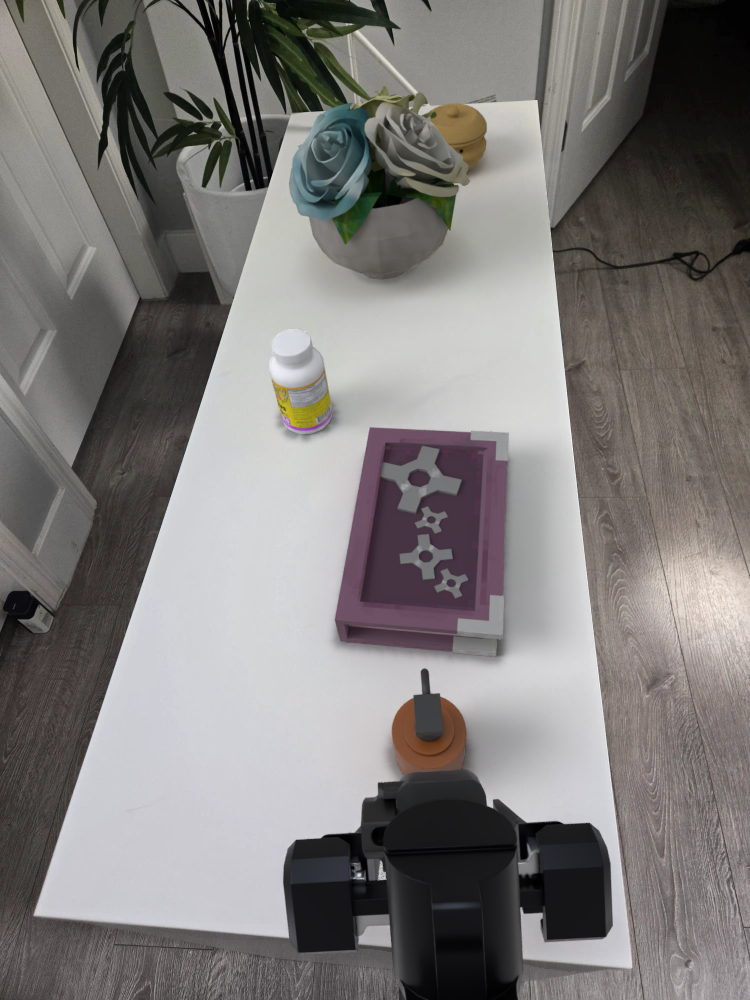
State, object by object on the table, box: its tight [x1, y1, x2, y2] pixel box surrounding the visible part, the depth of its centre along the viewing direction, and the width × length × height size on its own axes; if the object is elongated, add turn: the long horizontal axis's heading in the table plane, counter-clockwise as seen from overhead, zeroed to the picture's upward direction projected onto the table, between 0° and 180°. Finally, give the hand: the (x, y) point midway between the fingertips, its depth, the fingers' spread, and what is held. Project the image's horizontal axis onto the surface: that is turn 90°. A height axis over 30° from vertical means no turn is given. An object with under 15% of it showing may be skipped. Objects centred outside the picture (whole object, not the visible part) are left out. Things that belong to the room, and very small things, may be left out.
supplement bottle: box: [268, 328, 334, 435], centre depth 87 cm, size 7×7×13 cm
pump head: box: [412, 667, 444, 737], centre depth 59 cm, size 6×2×2 cm, turn 2°
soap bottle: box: [391, 696, 467, 776], centre depth 63 cm, size 6×6×7 cm
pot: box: [428, 103, 488, 171], centre depth 121 cm, size 12×12×10 cm
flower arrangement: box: [288, 85, 471, 280], centre depth 100 cm, size 25×25×24 cm
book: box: [334, 426, 510, 658], centre depth 77 cm, size 25×16×5 cm, turn 172°
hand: (437, 808), depth 50 cm, fingers open, 8 cm apart
